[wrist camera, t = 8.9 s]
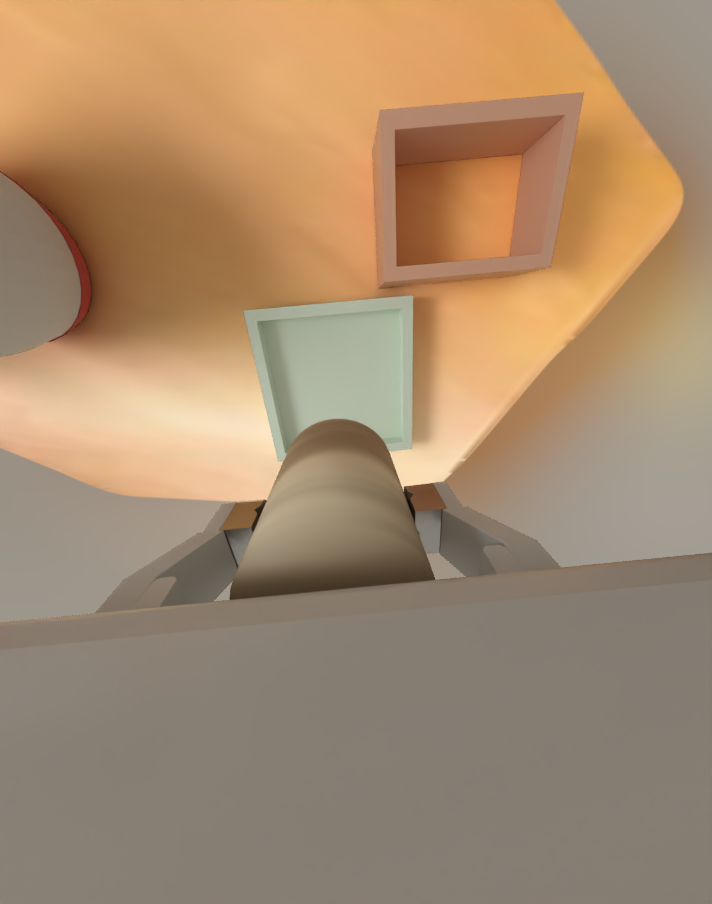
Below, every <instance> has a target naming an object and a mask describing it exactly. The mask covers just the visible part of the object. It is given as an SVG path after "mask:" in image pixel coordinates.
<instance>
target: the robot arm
mask: <svg viewBox="0 0 712 904" xmlns="http://www.w3.org/2000/svg"><path fill="white" fill-rule="evenodd" d="M404 494H405V497H406V500H407V503H408V506H409V508H410V511H411V514H412V517H413V519H414V522H415V525H416V528H417V530H418V533H419V536H420V539H421V541H422V544H423V547H424V550H425V552H426V554H431V553H440V554H441V555H442V556H443V557H444V558H445V559H446V560H448V561H449V562H450V563H451V564H452V565H453V566H454V567H456V568H457V569H458V570H459V571H460V572H461V573H463V574H464V575H465V576H466V577H462V578H461V577H460V578H450V579H440V580H429V581H419V582H409V583H398V584H388V585H378V586H367V587H357V588H347V589H337V590H327V591H317V592H307V593H297V594H287V595H277V596H266V597H256V598H246V599H235V600H226V601H215V602H213V601H214V600H215V599H216V598H217V597H218V596H219V595H220V594H221V593H222V591H223V590H224V589H225V588H226V587H227V586H228V585H229V584H230V583H231V582H232V581H233V579H234V577H235V574H236V572H237V570H238V567H239V565H240V563H241V560H242V558H243V555H244V553H245V551H246V548H247V546H248V544H249V541H250V539H251V537H252V534H253V532H254V530H255V527H256V525H257V523H258V520H259V518H260V516H261V513H262V511H263V509H264V506H265V504H266V502H267V501H266V500H252V501H239V502H228V503H224V504H222V505H221V506H220V508H219V509H218V511H217V512H216V514H215V515H214V517H213V518H212V520H211V521H210V522H209V524H208V526H207V527H206V528H205V530H204V531H203V532H202V533H197V534H196V535H194V536H193V537H191V538H190V539H188V540H186V541H185V542H183V543H181V544H180V545H178V546H177V547H175V548H173V549H172V550H171V551H169V552H167V553H166V554H164V555H162V556H161V557H159V558H158V559H156V560H154V561H153V562H151V563H150V564H148V565H147V566H145V567H143V568H142V569H140V570H138V571H137V572H135V573H134V574H132V575H131V576H129V577H127V578H126V579H124V580H123V581H122V582H121V583H120V585H119V586H118V587H117V588H116V589H115V590H114V591H113V593H112V594H111V595H110V596H109V597H108V598H107V600H106V601H105V602H104V603H103V604H102V605H101V607H100V608H99V609H98V610H97V611H96V612H95V613H92V614H81V615H72V616H61V617H51V618H42V619H41V618H40V619H30V620H20V621H9V622H0V904H712V553H705V554H695V555H684V556H674V557H665V558H654V559H643V560H633V561H623V562H613V563H603V564H593V565H582V566H572V567H562V568H561V567H560V566H559V565H558V563H557V562H556V561H555V560H554V559H553V558H552V557H551V556H550V554H549V553H548V552H547V551H546V550H545V549H544V548H543V547H542V545H541V544H540V543H539V542H538V541H537V540H535V539H533V538H531V537H529V536H527V535H525V534H523V533H521V532H519V531H517V530H514V529H512V528H510V527H508V526H506V525H504V524H502V523H500V522H498V521H496V520H494V519H492V518H490V517H487V516H485V515H483V514H481V513H479V512H477V511H475V510H473V509H471V508H469V507H463V506H462V504H461V503H460V501H459V500H458V498H457V497H456V495H455V494H454V493H453V491H452V489H451V488H450V486H449V485H448V484H447V482H445V481H444V482H436V483H430V484H421V485H413V486H404Z"/></svg>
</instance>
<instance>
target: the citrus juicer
mask: <svg viewBox="0 0 712 904" xmlns="http://www.w3.org/2000/svg"><path fill="white" fill-rule="evenodd" d="M90 302H91V283H90V276H89V272H88V269H87V266H86V263H85V260H84V258H83V256H82V254H81V252H80V250H79V248H78V246H77V244H76V243H75V241H74V240H73V238H72V237H71V235H70V234H69V232H68V231H67V229H66V228H65V227H64V226H63V225H62V224H61V223H60V221H59V220H58V219H57V218H56V217H55V216H54V215H53V214H52V213H51V212H50V211H49V210H48V209H47V208H46V207H44V206H43V205H42V204H41V203H40V202H39V201H38V200H37V199H35V198H34V197H33V196H32V195H31V194H30V193H29V192H27V191H26V190H25V189H24V188H23V187H22V186H20V185H19V184H18V183H17V182H15V181H14V180H12V179H11V178H9V177H8V176H6V175H5V174H3V173H2V172H1V171H0V357H2V356H8V355H13V354H16V353H20V352H23V351H26V350H30V349H33V348H35V347H38V346H40V345H42V344H44V343H46V342H51V341H54V340H56V339H58V338H60V337H62V336H64V335H65V334H67V333H68V332H70V331H71V330H72V329H73V328H74V327H76V326H77V325H78V324H79V323H80V322H81V321H82V320H83V319H84V317H85V315H86V314H87V312H88V309H89V305H90Z"/></svg>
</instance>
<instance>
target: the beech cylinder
mask: <svg viewBox="0 0 712 904" xmlns="http://www.w3.org/2000/svg"><path fill="white" fill-rule="evenodd" d="M429 580H435V577H434V575H433V572H432V569H431V566H430V563H429V561H428V558H427V555H426V552H425V550H424V547H423V544H422V541H421V539H420V536H419V533H418V530H417V528H416V525H415V522H414V519H413V517H412V514H411V511H410V508H409V506H408V503H407V500H406V497H405V494H404V492H403V489H402V486H401V483H400V481H399V478H398V475H397V472H396V470H395V467H394V464H393V461H392V459H391V456H390V453H389V451H388V448H387V446H386V444H385V443H384V441H383V440H382V438H381V437H380V436H379V435H378V434H377V433H376V432H375V431H373V430H372V429H371V428H369V427H368V426H366V425H364V424H362V423H359V422H356V421H353V420H348V419H329V420H324V421H321V422H317V423H315V424H313V425H311V426H309V427H308V428H306V429H305V430H303V431H302V432H301V433H300V434H299V435H298V436H297V437H296V438H295V439H294V441H293V442H292V444H291V446H290V448H289V450H288V452H287V455H286V457H285V459H284V462H283V464H282V466H281V469H280V471H279V473H278V476H277V478H276V480H275V483H274V485H273V487H272V490H271V492H270V494H269V497H268V499H267V502H266V504H265V506H264V509H263V511H262V513H261V516H260V518H259V520H258V523H257V525H256V527H255V530H254V532H253V534H252V537H251V539H250V541H249V544H248V546H247V548H246V551H245V553H244V555H243V558H242V560H241V563H240V565H239V567H238V570H237V572H236V574H235V577H234V579H233V582H232V586H231V589H230V600H235V599H246V598H256V597H266V596H277V595H287V594H297V593H307V592H317V591H327V590H337V589H347V588H357V587H367V586H378V585H388V584H398V583H409V582H419V581H429Z"/></svg>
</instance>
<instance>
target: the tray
mask: <svg viewBox="0 0 712 904" xmlns="http://www.w3.org/2000/svg"><path fill="white" fill-rule="evenodd" d="M243 312H244V316H245V321H246V325H247V329H248V333H249V338H250V342H251V346H252V351H253V355H254V359H255V364H256V368H257V372H258V377H259V381H260V385H261V389H262V394H263V398H264V402H265V407H266V411H267V415H268V420H269V424H270V428H271V433H272V437H273V441H274V446H275V450H276V454H277V458H278V461H284V459H285V457H286V455H287V452H288V450H289V448H290V446H291V444H292V442H293V441H294V439H295V438H296V437H297V436H298V435H299V434H300V433H301V432H302V431H303V430H305V429H306V428H308V427H309V426H311V425H313V424H315V423H317V422H321V421H324V420H329V419H348V420H353V421H356V422H359V423H362V424H364V425H366V426H368V427H369V428H371V429H372V430H373V431H375V432H376V433H377V434H378V435H379V436H380V437H381V438H382V440H383V441H384V443H385V444H386V446H387V448H388V451H395V450H405V449H412V381H413V295H409V296H398V297H387V298H376V299H365V300H354V301H343V302H332V303H321V304H310V305H299V306H288V307H277V308H266V309H255V310H244V311H243Z"/></svg>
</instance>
